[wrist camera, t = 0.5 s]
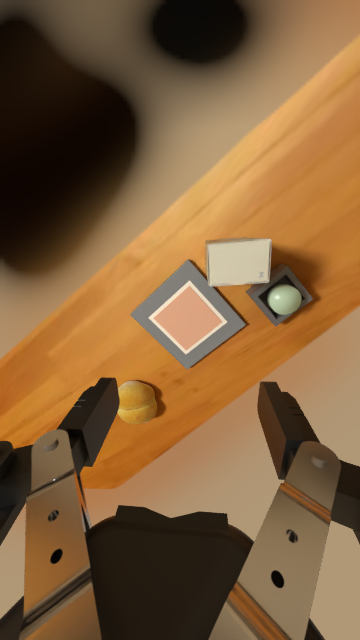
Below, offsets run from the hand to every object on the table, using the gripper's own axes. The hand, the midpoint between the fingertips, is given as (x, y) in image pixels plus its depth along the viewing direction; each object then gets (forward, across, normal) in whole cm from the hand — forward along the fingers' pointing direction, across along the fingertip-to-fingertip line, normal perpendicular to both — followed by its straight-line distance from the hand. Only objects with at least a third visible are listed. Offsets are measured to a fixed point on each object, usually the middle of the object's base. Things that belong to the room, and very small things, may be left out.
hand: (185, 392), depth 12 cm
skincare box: (+25, -4, -5) cm, 26 cm away
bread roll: (+24, +12, +22) cm, 35 cm away
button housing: (+25, -12, +1) cm, 28 cm away
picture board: (+24, +1, +5) cm, 25 cm away
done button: (+22, -12, +1) cm, 25 cm away
